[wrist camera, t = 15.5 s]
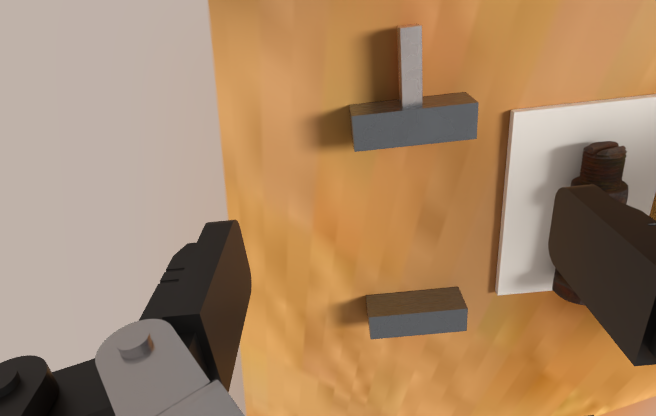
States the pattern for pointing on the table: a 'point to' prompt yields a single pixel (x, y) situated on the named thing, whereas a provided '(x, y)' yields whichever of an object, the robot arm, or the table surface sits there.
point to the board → (564, 176)
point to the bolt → (606, 173)
